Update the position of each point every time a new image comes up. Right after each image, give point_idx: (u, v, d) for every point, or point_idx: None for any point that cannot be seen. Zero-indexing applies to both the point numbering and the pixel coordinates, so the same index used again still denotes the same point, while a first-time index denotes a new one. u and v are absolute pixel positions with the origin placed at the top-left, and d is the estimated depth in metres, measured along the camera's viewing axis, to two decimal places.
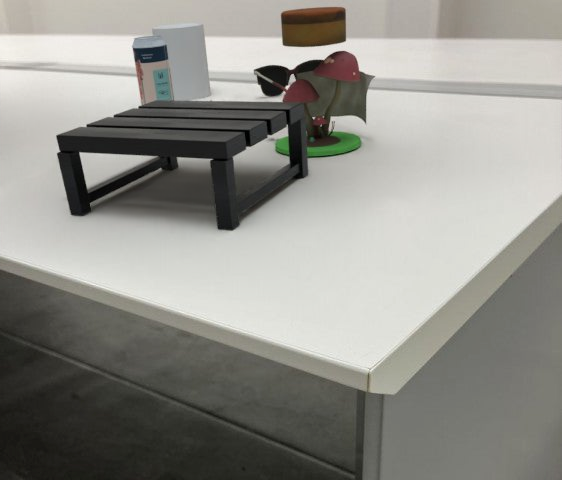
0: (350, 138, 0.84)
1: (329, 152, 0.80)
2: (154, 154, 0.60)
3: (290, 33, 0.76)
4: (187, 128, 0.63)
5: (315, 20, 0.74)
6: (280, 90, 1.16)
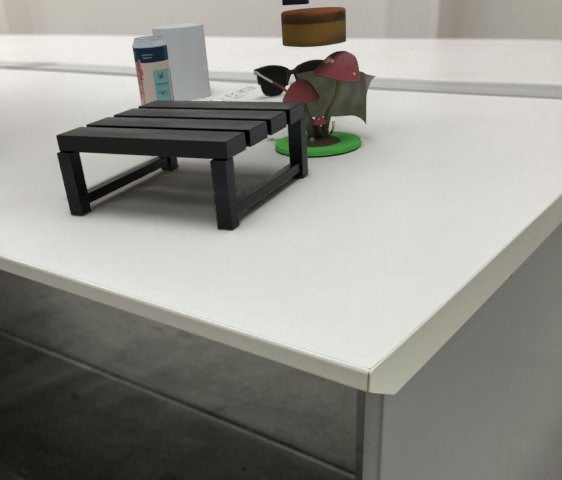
0: (350, 138, 0.84)
1: (329, 152, 0.80)
2: (154, 154, 0.60)
3: (290, 33, 0.76)
4: (187, 128, 0.63)
5: (315, 20, 0.74)
6: (280, 90, 1.16)
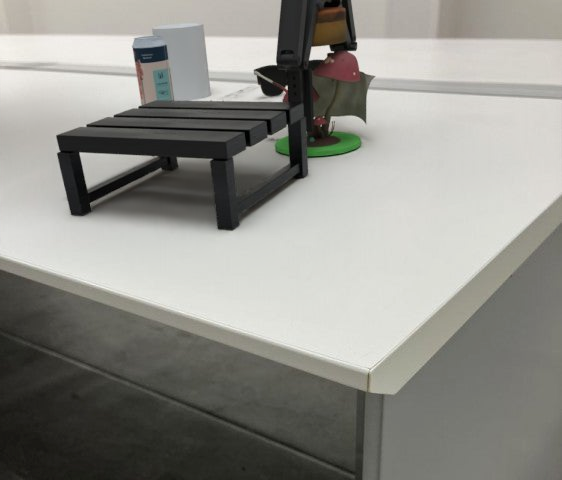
0: (350, 138, 0.84)
1: (329, 152, 0.80)
2: (154, 154, 0.60)
3: None
4: (187, 128, 0.63)
5: None
6: (280, 90, 1.16)
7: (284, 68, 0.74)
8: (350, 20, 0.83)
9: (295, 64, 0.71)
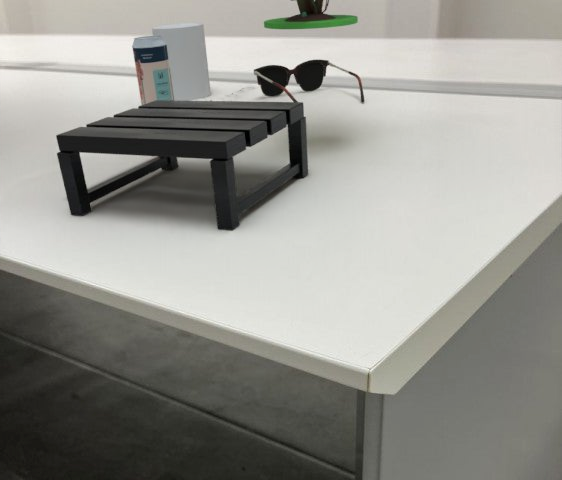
0: (346, 17, 0.77)
1: (322, 24, 0.73)
2: (154, 154, 0.60)
3: None
4: (187, 128, 0.63)
5: None
6: (280, 90, 1.16)
7: None
8: None
9: None
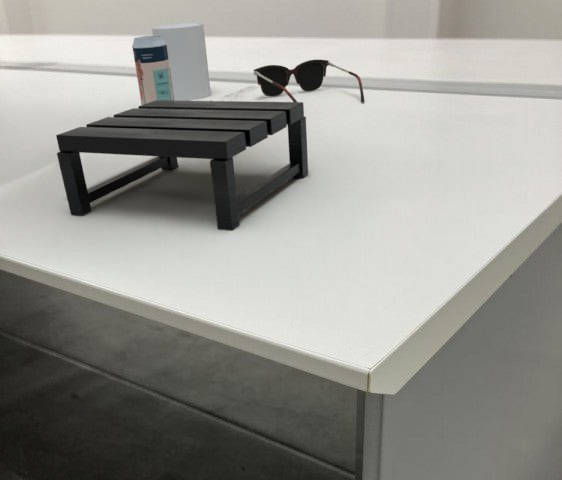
0: None
1: None
2: (154, 154, 0.60)
3: None
4: (187, 128, 0.63)
5: None
6: (280, 90, 1.16)
7: None
8: None
9: None
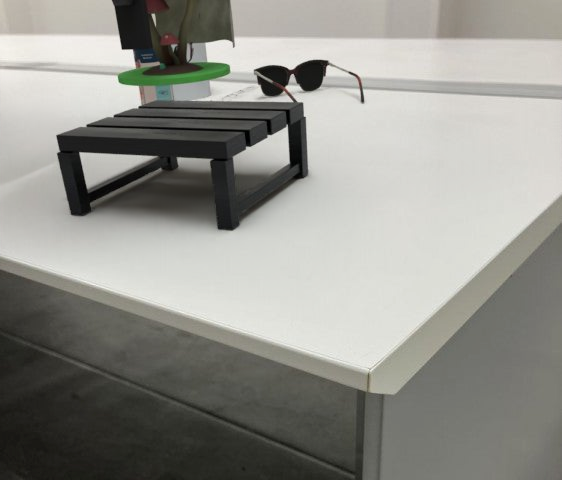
0: (216, 67, 0.64)
1: (179, 80, 0.60)
2: (154, 154, 0.60)
3: None
4: (187, 128, 0.63)
5: None
6: (280, 90, 1.16)
7: None
8: None
9: None
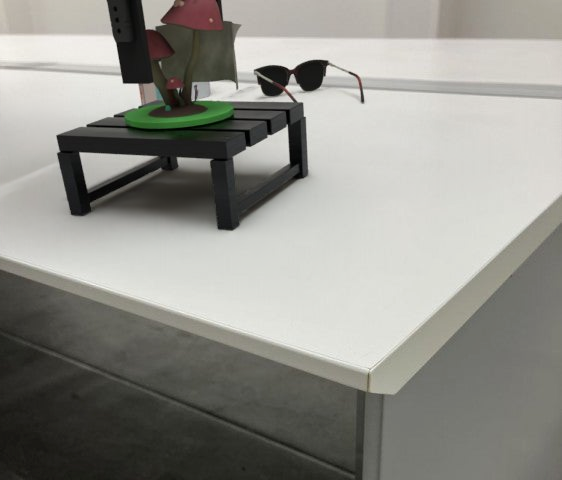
0: (220, 107, 0.66)
1: (184, 123, 0.62)
2: (154, 154, 0.60)
3: None
4: (187, 128, 0.63)
5: None
6: (280, 90, 1.16)
7: None
8: None
9: None
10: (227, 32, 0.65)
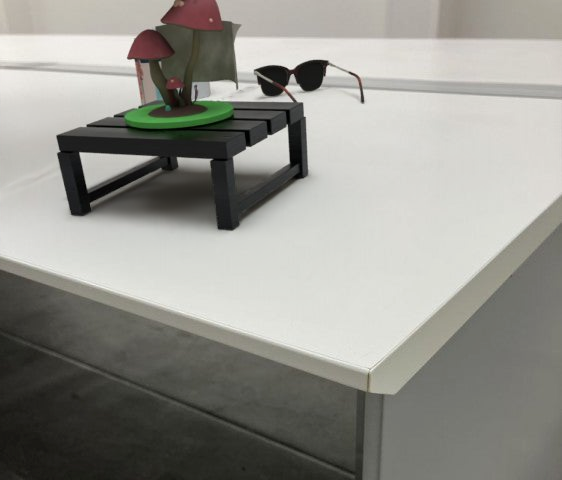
0: (220, 107, 0.66)
1: (184, 123, 0.62)
2: (154, 154, 0.60)
3: None
4: (187, 128, 0.63)
5: None
6: (280, 90, 1.16)
7: None
8: None
9: None
10: (227, 32, 0.65)
